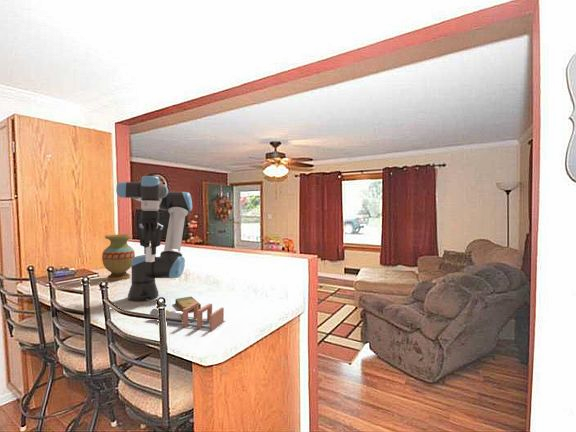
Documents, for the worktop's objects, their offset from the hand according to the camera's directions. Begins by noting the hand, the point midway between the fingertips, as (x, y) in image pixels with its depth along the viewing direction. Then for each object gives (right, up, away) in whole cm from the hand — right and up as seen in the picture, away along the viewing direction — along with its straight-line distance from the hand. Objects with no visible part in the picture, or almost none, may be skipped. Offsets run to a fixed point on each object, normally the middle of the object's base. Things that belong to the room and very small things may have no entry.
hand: (150, 261), depth 138 cm
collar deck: (+22, -25, -12) cm, 35 cm away
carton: (+14, -25, +9) cm, 30 cm away
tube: (+12, -24, -9) cm, 28 cm away
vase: (-54, -23, +71) cm, 92 cm away
